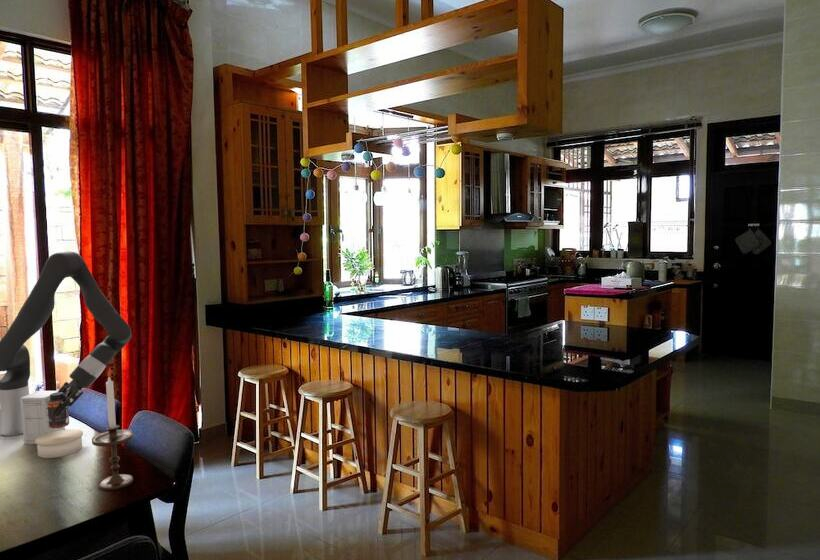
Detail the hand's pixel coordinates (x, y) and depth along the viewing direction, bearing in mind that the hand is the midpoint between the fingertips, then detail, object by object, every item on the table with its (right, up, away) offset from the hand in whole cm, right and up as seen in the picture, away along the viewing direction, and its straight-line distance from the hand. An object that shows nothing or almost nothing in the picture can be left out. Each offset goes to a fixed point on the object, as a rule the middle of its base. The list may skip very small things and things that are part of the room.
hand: (52, 412), depth 194 cm
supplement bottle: (+1, -5, +2) cm, 6 cm away
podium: (+1, -13, +2) cm, 14 cm away
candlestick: (+34, -15, -25) cm, 45 cm away
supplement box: (-11, -13, +13) cm, 21 cm away
